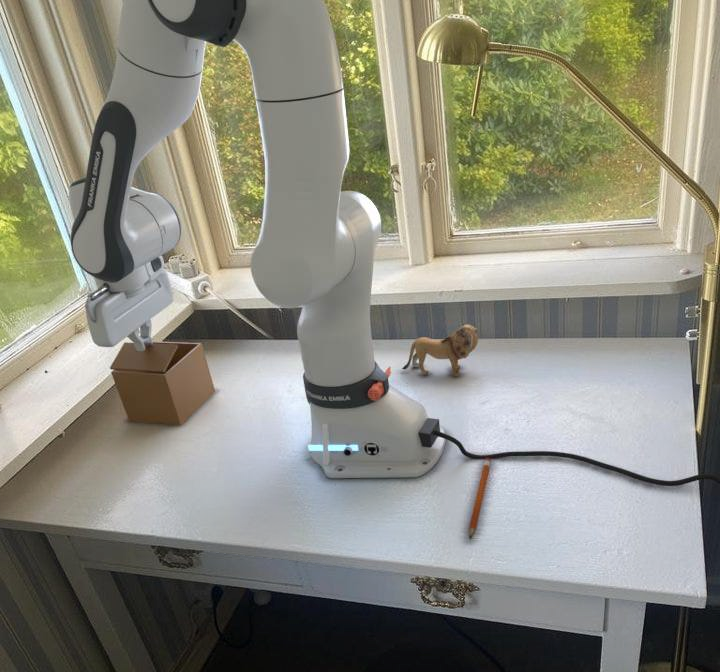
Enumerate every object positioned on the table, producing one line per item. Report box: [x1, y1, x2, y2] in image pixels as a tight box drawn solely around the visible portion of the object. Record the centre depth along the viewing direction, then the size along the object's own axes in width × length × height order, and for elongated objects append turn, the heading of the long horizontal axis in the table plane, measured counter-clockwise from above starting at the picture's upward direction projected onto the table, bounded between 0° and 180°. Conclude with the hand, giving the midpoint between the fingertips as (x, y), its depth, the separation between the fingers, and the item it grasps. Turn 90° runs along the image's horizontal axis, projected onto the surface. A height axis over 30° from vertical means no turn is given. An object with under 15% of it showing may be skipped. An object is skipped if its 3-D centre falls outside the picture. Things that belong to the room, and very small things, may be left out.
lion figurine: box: [401, 324, 479, 377], centre depth 136 cm, size 15×5×9 cm, turn 79°
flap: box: [109, 341, 178, 373], centre depth 132 cm, size 12×6×1 cm, turn 69°
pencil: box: [468, 458, 492, 539], centre depth 105 cm, size 1×19×1 cm, turn 164°
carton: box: [110, 340, 216, 426], centre depth 138 cm, size 12×13×10 cm
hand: (145, 347), depth 132 cm, fingers closed
